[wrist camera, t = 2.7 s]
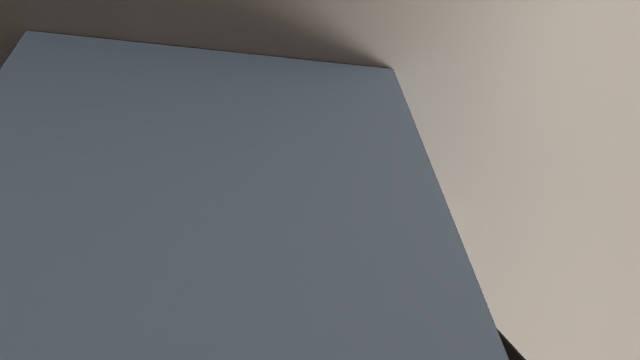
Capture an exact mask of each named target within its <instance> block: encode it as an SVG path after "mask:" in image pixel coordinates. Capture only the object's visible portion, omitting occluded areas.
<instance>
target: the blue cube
mask: <svg viewBox="0 0 640 360" xmlns="http://www.w3.org/2000/svg"><path fill="white" fill-rule="evenodd" d="M0 360H509V359H508V356H507V354H506V351H505V349H504V346H503V344H502V341H501V338H500V336H499V333H498V331H497V328H496V326H495V323H494V321H493V318H492V316H491V313H490V311H489V308H488V306H487V303H486V301H485V298H484V296H483V293H482V291H481V288H480V286H479V283H478V281H477V278H476V276H475V273H474V271H473V268H472V266H471V263H470V261H469V258H468V256H467V253H466V251H465V248H464V246H463V243H462V241H461V238H460V236H459V233H458V231H457V228H456V226H455V223H454V221H453V218H452V216H451V213H450V210H449V208H448V205H447V203H446V200H445V198H444V195H443V193H442V190H441V188H440V185H439V183H438V180H437V178H436V175H435V173H434V170H433V168H432V165H431V163H430V160H429V158H428V155H427V153H426V150H425V148H424V145H423V143H422V140H421V138H420V135H419V133H418V130H417V128H416V125H415V123H414V120H413V118H412V115H411V113H410V110H409V108H408V105H407V103H406V100H405V98H404V95H403V93H402V90H401V87H400V85H399V82H398V80H397V77H396V75H395V72H394V70H393V69H388V68H378V67H369V66H359V65H350V64H340V63H331V62H321V61H312V60H302V59H293V58H283V57H274V56H264V55H255V54H245V53H236V52H226V51H217V50H207V49H198V48H188V47H179V46H169V45H160V44H150V43H141V42H131V41H122V40H112V39H103V38H93V37H84V36H74V35H65V34H55V33H46V32H36V31H27V30H26V32H25V33H24V35H23V36H22V38H21V39H20V41H19V42H18V44H17V45H16V47H15V48H14V49H13V51H12V52H11V54H10V55H9V57H8V58H7V60H6V61H5V63H4V64H3V66H2V67H1V69H0Z"/></svg>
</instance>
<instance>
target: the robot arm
mask: <svg viewBox="0 0 640 360" xmlns="http://www.w3.org/2000/svg"><path fill="white" fill-rule="evenodd" d="M497 331H498V333H499V336H500V338H501V341H502V344H503V346H504V349H505V351H506V354H507V356H508V359H509V360H526V359H525V358H524V357H523V356H522V355H521V354H520V353H519V352H518V351H517V350H516V349H515V348H514V346H513V345H512V344H511V343H510V342H509V341H508V340H507V339H506V338H505V337H504V336H503V335H502V334H501V332H500V331H499V330H498V329H497Z"/></svg>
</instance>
